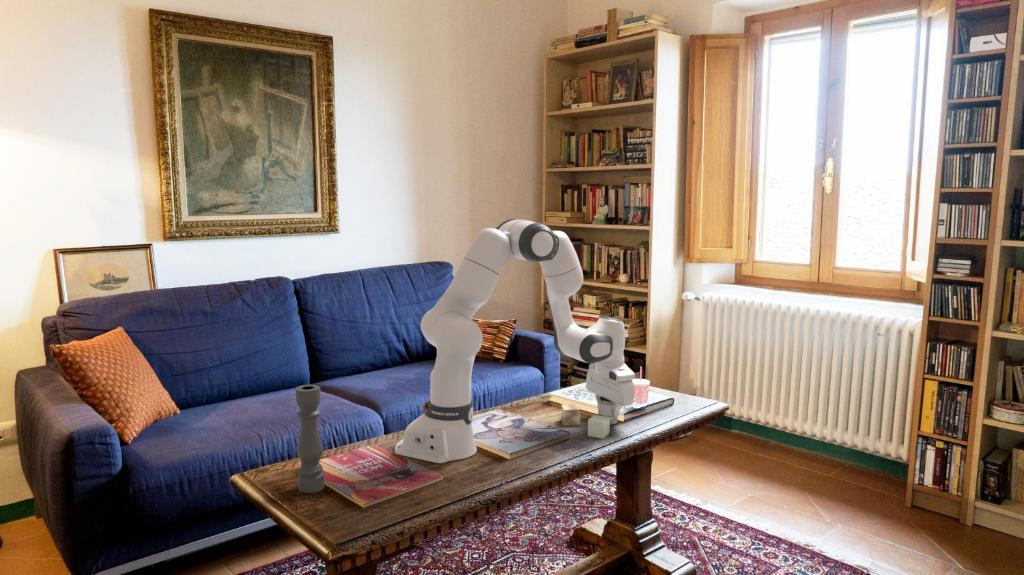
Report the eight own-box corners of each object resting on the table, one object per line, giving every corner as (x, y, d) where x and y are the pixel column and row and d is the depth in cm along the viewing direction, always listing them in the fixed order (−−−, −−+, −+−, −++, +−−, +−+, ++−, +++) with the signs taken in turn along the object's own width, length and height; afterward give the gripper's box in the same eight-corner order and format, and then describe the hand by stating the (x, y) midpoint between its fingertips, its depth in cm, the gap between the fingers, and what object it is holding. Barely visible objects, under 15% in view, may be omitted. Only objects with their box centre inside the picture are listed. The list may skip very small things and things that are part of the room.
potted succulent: (611, 426, 220) (612, 401, 218) (593, 422, 224) (594, 397, 222) (621, 421, 225) (622, 396, 223) (604, 416, 228) (605, 393, 227)
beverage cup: (634, 411, 235) (635, 369, 232) (627, 405, 240) (628, 364, 238) (651, 410, 236) (653, 368, 234) (644, 404, 242) (646, 363, 240)
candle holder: (304, 481, 178) (300, 383, 174) (328, 482, 178) (325, 384, 174) (294, 492, 172) (290, 391, 168) (319, 493, 172) (315, 392, 168)
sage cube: (587, 436, 212) (588, 419, 211) (593, 430, 216) (593, 414, 215) (603, 439, 210) (604, 422, 209) (609, 433, 214) (609, 417, 213)
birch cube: (563, 425, 221) (564, 409, 220) (561, 420, 225) (561, 404, 225) (579, 425, 221) (580, 409, 220) (577, 419, 226) (577, 404, 225)
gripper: (581, 362, 229) (580, 404, 231) (621, 378, 211) (620, 423, 213) (597, 359, 232) (596, 401, 234) (638, 375, 214) (636, 420, 216)
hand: (608, 412), depth 224 cm, fingers closed on potted succulent, 6 cm apart
